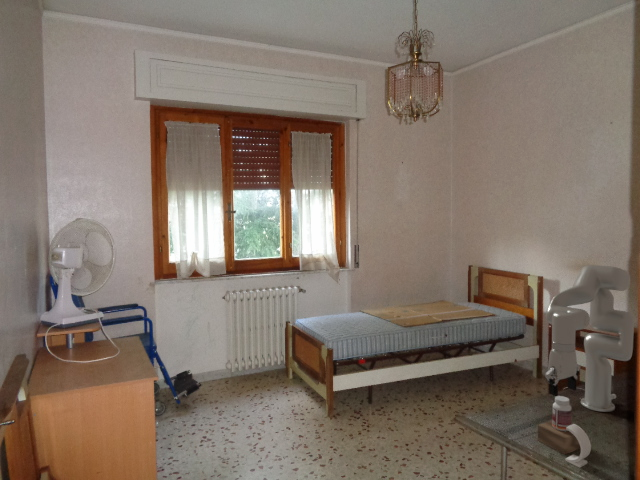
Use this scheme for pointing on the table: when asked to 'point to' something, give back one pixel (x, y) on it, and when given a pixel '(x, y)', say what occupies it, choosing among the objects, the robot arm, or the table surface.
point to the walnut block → (557, 438)
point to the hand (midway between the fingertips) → (562, 391)
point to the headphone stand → (584, 446)
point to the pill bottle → (561, 413)
